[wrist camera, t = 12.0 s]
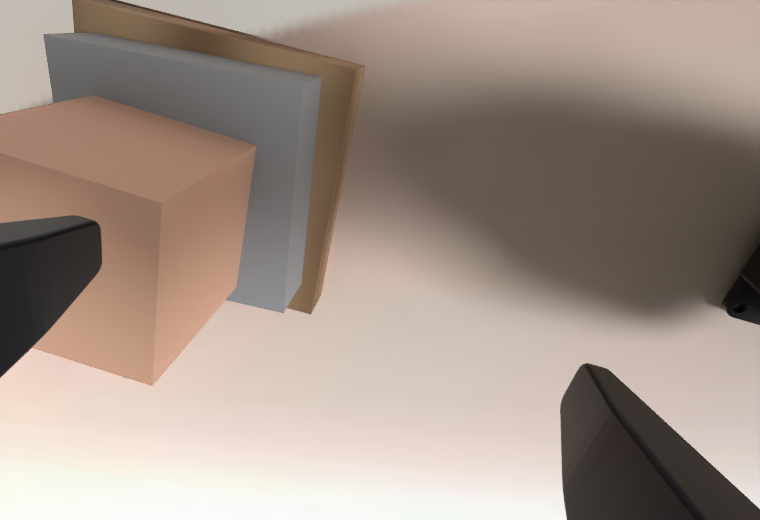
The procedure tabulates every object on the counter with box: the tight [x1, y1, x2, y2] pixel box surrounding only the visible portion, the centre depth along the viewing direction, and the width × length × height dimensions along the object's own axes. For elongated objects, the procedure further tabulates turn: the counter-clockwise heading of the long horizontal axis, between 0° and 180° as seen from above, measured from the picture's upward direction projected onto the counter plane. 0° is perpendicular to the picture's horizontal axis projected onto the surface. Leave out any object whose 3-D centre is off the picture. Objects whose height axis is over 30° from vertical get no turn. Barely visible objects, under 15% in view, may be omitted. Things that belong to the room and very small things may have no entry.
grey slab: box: [44, 32, 322, 313], centre depth 19 cm, size 9×9×2 cm
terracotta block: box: [0, 95, 256, 386], centre depth 16 cm, size 6×6×6 cm
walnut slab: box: [72, 0, 365, 314], centre depth 22 cm, size 11×11×2 cm
